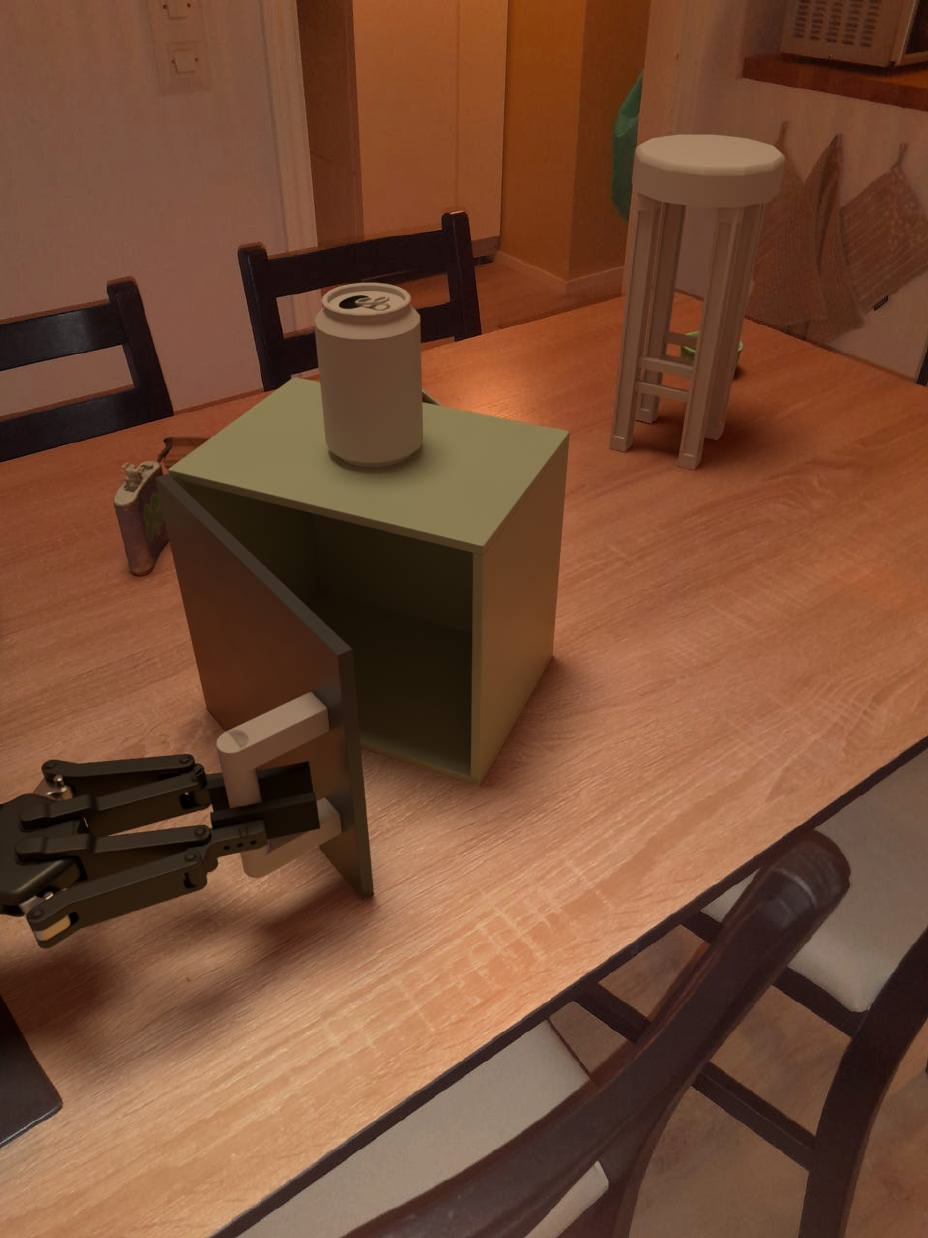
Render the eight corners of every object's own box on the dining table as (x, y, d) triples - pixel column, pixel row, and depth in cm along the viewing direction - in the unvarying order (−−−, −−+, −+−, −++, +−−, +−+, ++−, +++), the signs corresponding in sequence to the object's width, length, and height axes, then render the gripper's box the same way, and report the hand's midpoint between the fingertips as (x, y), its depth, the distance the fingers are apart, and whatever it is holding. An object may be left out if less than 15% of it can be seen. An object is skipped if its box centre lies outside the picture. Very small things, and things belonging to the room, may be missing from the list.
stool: (704, 481, 118) (760, 173, 96) (588, 450, 124) (615, 154, 102) (742, 430, 128) (800, 142, 107) (633, 404, 134) (667, 127, 113)
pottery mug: (141, 507, 114) (139, 436, 112) (201, 507, 122) (199, 440, 121) (216, 509, 107) (214, 433, 106) (274, 508, 115) (272, 438, 114)
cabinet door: (277, 953, 67) (226, 706, 52) (130, 741, 83) (61, 507, 68) (374, 894, 70) (352, 648, 56) (216, 702, 86) (167, 473, 72)
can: (358, 419, 79) (348, 270, 71) (440, 438, 76) (438, 286, 69) (307, 459, 73) (290, 303, 66) (394, 481, 71) (386, 321, 63)
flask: (149, 577, 102) (127, 489, 95) (122, 576, 102) (98, 487, 95) (179, 530, 109) (161, 445, 102) (154, 528, 109) (134, 443, 103)
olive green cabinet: (479, 787, 79) (483, 545, 64) (216, 701, 87) (167, 469, 72) (552, 656, 92) (570, 430, 77) (318, 591, 100) (293, 376, 85)
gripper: (-41, 819, 66) (304, 753, 71) (-77, 1021, 54) (338, 926, 59) (-79, 741, 61) (293, 676, 66) (-127, 943, 50) (327, 847, 55)
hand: (313, 794), depth 63 cm, fingers closed on cabinet door, 2 cm apart
